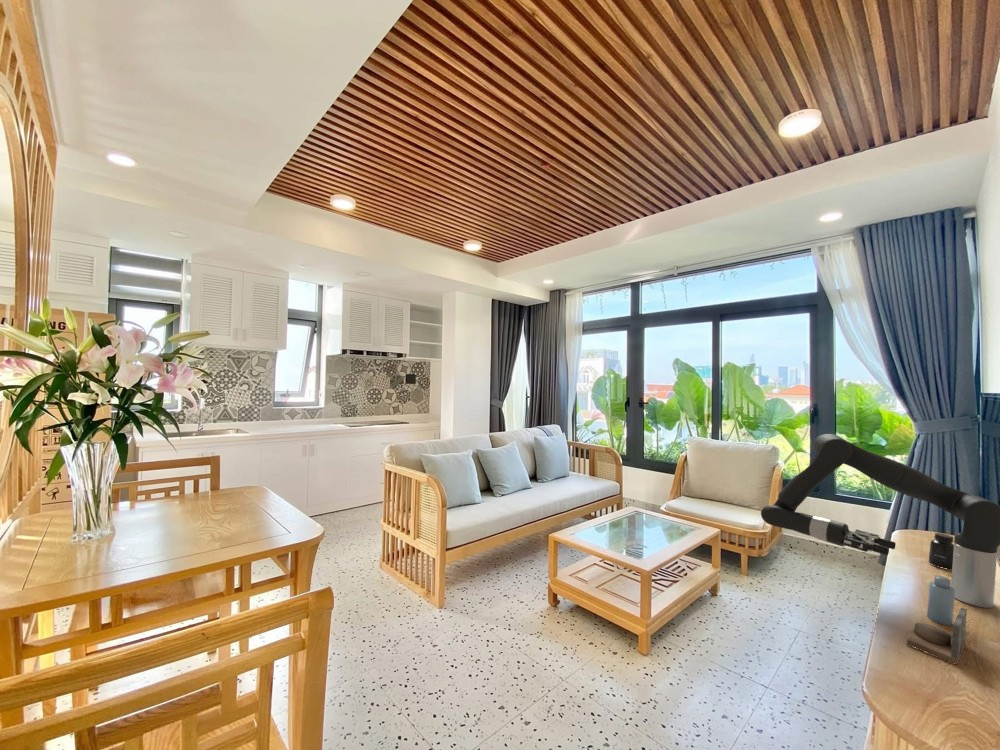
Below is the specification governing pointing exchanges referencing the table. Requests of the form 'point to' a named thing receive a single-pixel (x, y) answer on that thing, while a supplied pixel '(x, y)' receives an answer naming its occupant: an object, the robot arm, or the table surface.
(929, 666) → the table surface
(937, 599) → the blue grey bottle
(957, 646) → the display stand
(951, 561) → the supplement bottle
